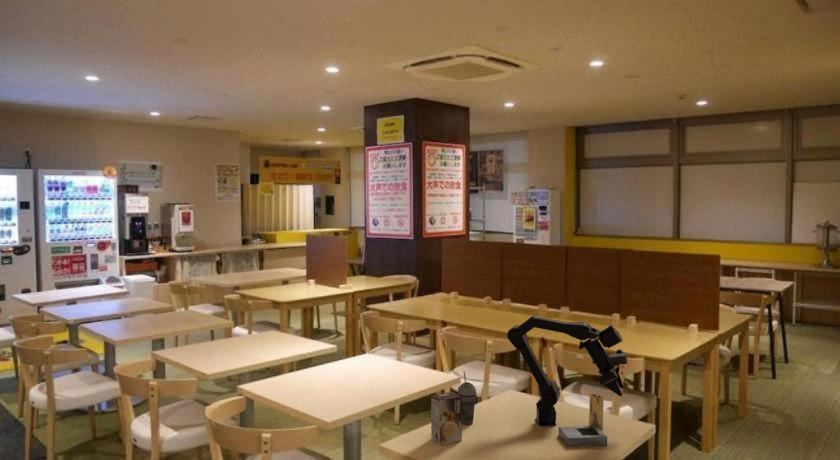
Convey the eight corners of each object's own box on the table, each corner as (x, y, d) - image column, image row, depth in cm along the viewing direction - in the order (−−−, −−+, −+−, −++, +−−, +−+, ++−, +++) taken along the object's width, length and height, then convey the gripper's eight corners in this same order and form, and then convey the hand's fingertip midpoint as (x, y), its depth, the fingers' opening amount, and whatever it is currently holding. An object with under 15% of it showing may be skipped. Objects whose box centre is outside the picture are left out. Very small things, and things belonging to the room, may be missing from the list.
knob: (591, 431, 220) (592, 397, 219) (586, 426, 225) (587, 393, 224) (605, 430, 220) (605, 397, 220) (599, 425, 225) (600, 392, 224)
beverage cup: (475, 427, 222) (475, 374, 221) (455, 426, 224) (456, 373, 223) (477, 420, 229) (477, 369, 228) (458, 419, 231) (459, 367, 230)
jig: (568, 446, 206) (568, 438, 206) (558, 435, 216) (558, 426, 216) (607, 445, 207) (607, 436, 207) (595, 433, 217) (596, 425, 217)
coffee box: (452, 434, 216) (453, 391, 215) (462, 441, 210) (462, 396, 209) (430, 439, 211) (430, 394, 211) (439, 446, 206) (439, 400, 205)
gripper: (615, 349, 208) (641, 389, 205) (619, 338, 225) (642, 374, 222) (587, 364, 211) (612, 403, 209) (593, 351, 229) (616, 388, 226)
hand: (622, 391), depth 217 cm, fingers open, 9 cm apart
